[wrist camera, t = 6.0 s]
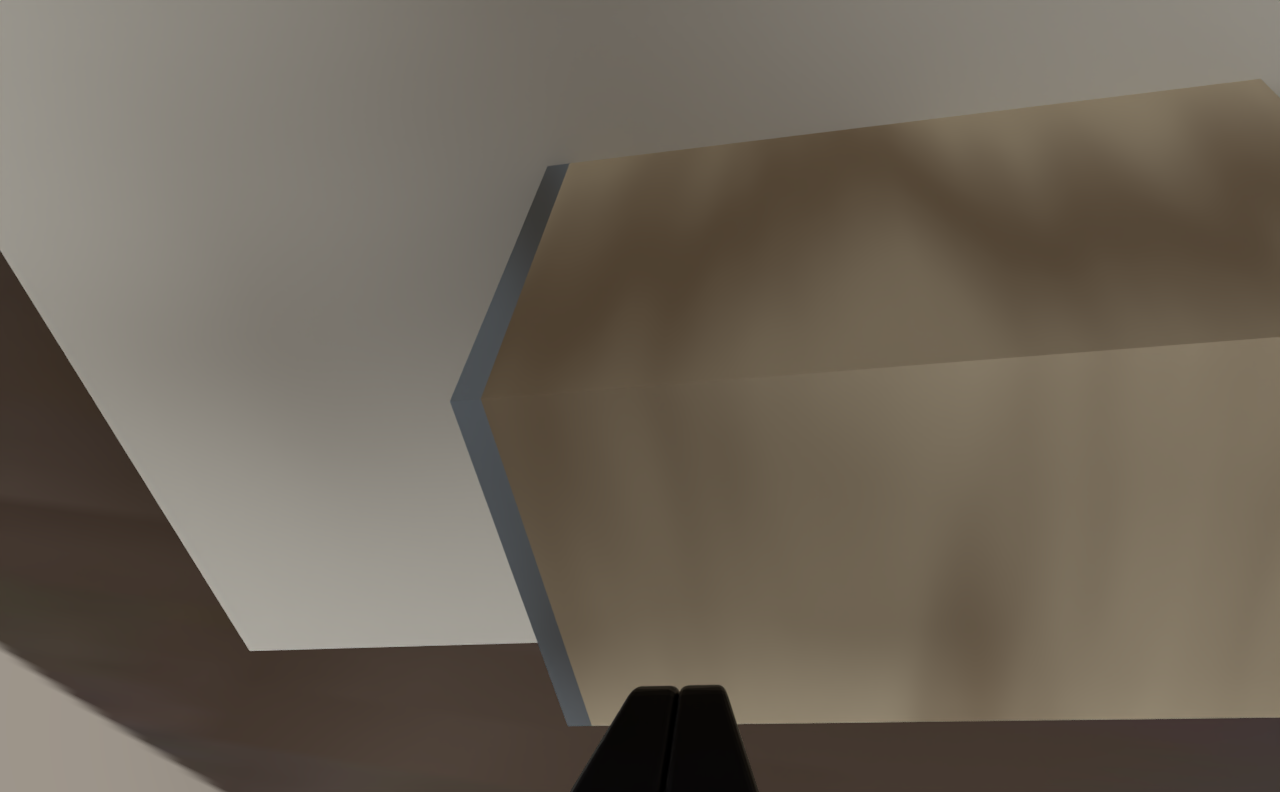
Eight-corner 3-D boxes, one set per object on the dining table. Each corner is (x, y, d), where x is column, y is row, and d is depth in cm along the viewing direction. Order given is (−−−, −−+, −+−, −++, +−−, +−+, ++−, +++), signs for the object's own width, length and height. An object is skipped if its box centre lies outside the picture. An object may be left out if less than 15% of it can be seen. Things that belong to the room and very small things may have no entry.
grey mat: (1717, -493, 9) (1754, -496, 9) (1346, 600, 17) (1357, 619, 17) (-190, -102, 13) (-215, -95, 12) (257, 635, 21) (249, 651, 21)
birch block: (547, 166, 13) (1261, 78, 12) (619, 455, 16) (1198, 418, 15) (450, 401, 9) (1499, 319, 8) (568, 726, 12) (1349, 716, 11)
